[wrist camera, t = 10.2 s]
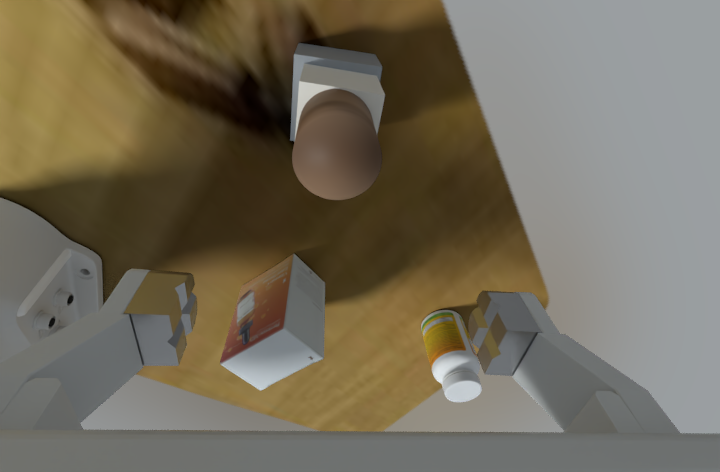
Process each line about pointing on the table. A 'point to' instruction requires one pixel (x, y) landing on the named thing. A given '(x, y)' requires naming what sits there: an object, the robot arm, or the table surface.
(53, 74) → the table surface
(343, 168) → the walnut cylinder
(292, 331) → the small box
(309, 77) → the top block
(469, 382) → the supplement bottle
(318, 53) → the base block
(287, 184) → the table surface
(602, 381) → the robot arm
